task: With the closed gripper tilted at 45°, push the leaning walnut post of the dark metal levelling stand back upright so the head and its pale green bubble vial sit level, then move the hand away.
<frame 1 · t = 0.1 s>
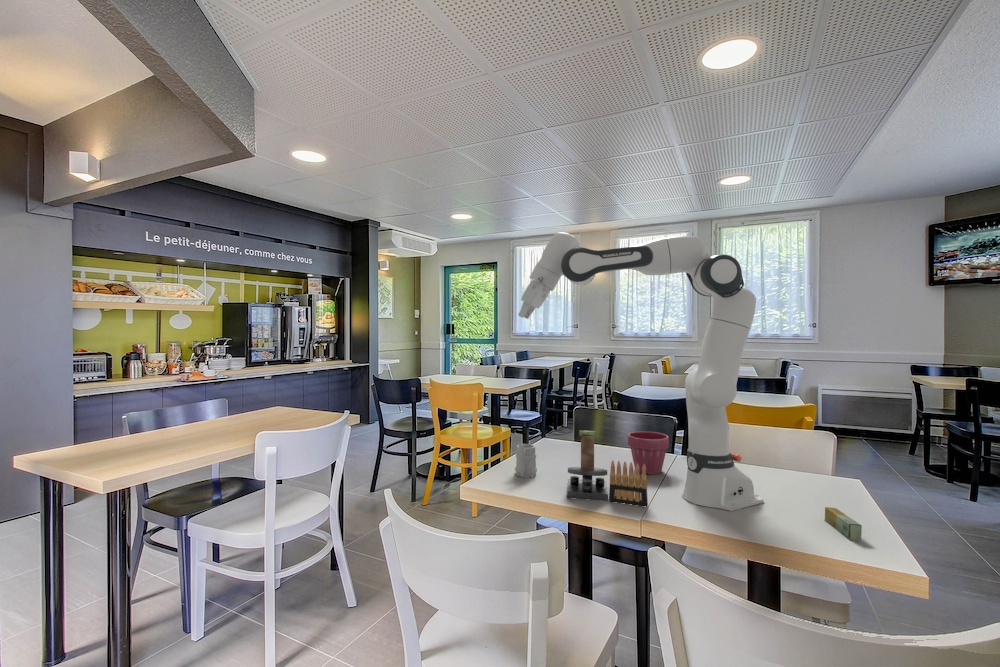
hand: (523, 317, 147), 54 cm above the table, tool tilted 30°, fingers open, 8 cm apart
medication box: (842, 531, 114), on the table
mug: (524, 476, 156), on the table
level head: (587, 451, 141), point 12 cm above the table, hinge at 10.0°
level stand: (587, 492, 140), on the table
plant pot: (647, 471, 164), on the table
ammunition clip: (628, 504, 131), on the table
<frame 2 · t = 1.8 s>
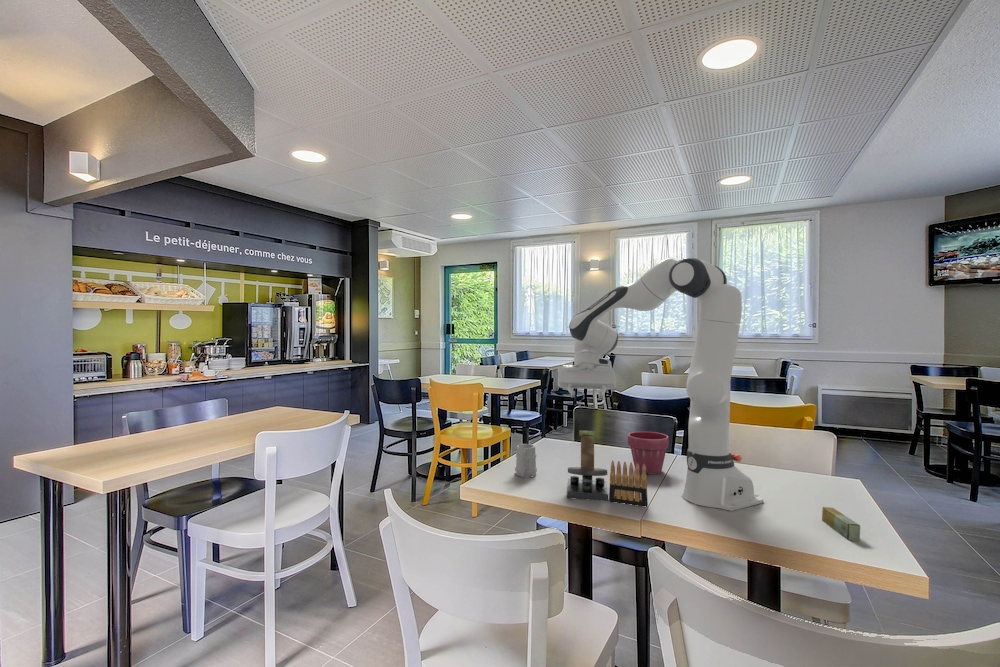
hand: (586, 396, 155), 27 cm above the table, tool tilted 45°, fingers open, 8 cm apart
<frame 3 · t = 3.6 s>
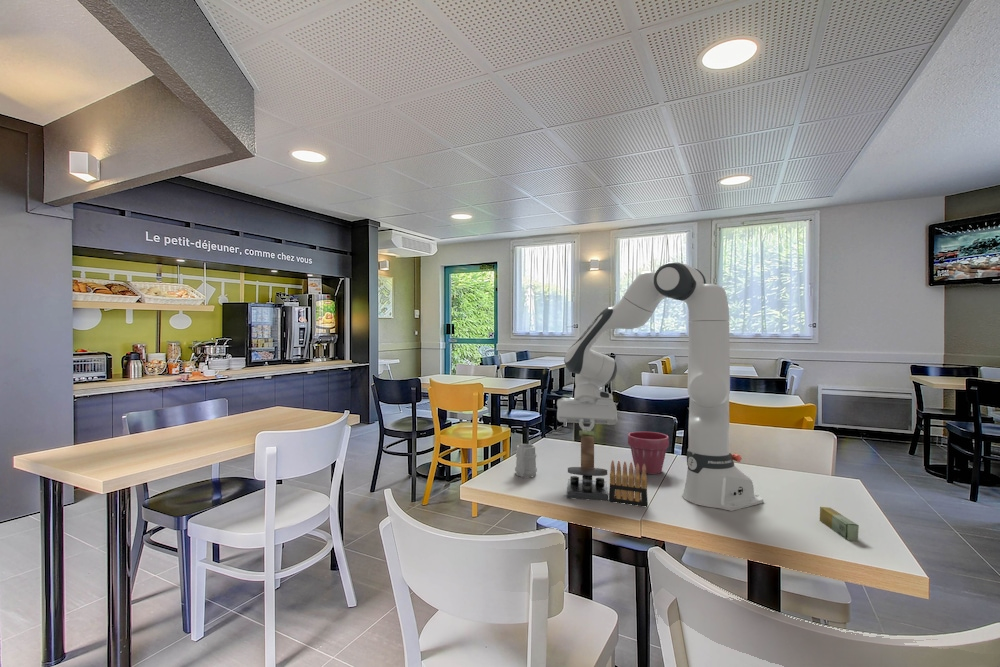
hand: (586, 432, 150), 16 cm above the table, tool tilted 45°, fingers closed
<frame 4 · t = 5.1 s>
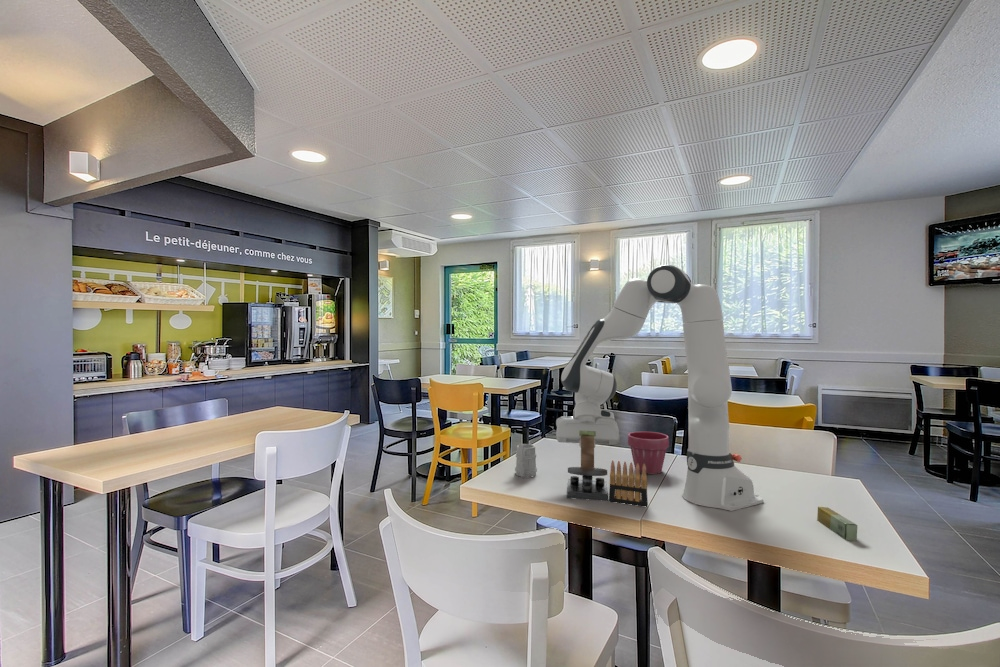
hand: (587, 454, 144), 11 cm above the table, tool tilted 45°, fingers closed, pressing on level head
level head: (587, 451, 141), point 12 cm above the table, hinge at 9.7°, touching gripper
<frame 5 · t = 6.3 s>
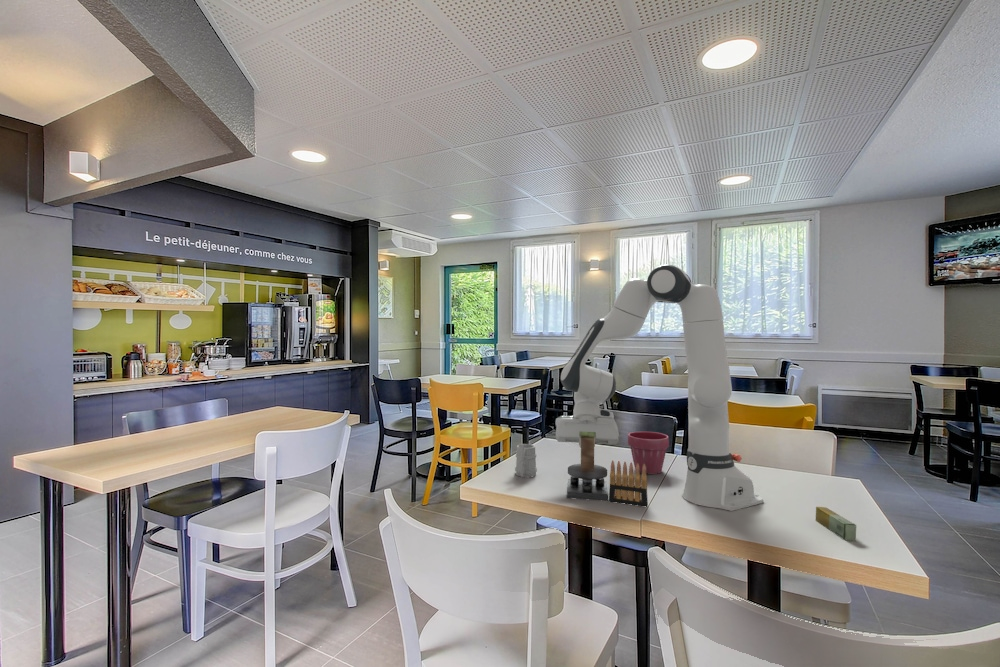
hand: (586, 453, 143), 11 cm above the table, tool tilted 45°, fingers closed
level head: (587, 452, 140), point 12 cm above the table, hinge at -0.5°
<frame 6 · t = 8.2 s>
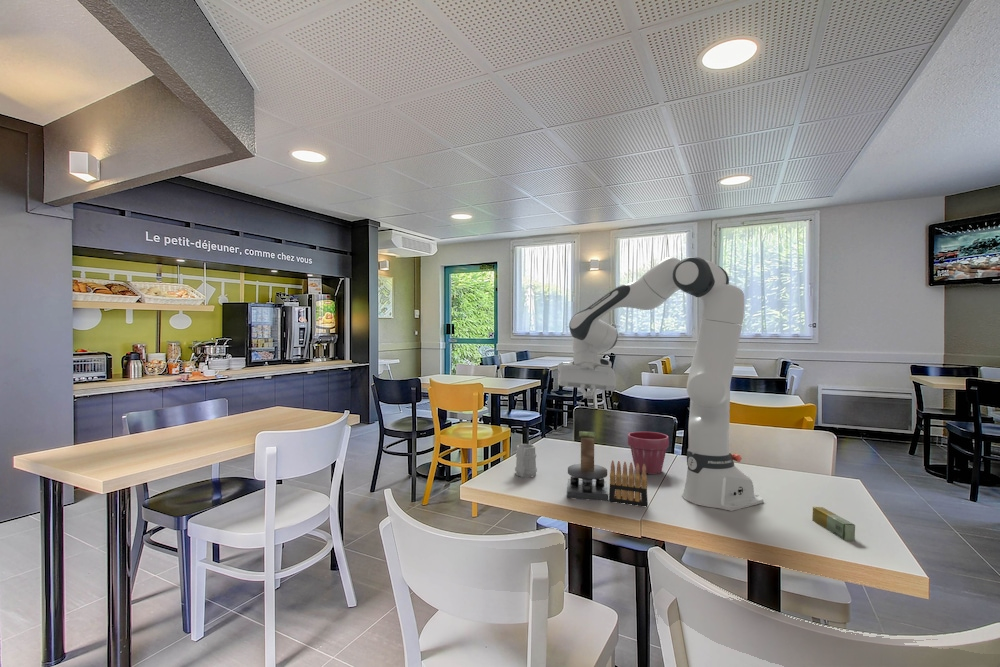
hand: (588, 397, 155), 27 cm above the table, tool tilted 40°, fingers closed
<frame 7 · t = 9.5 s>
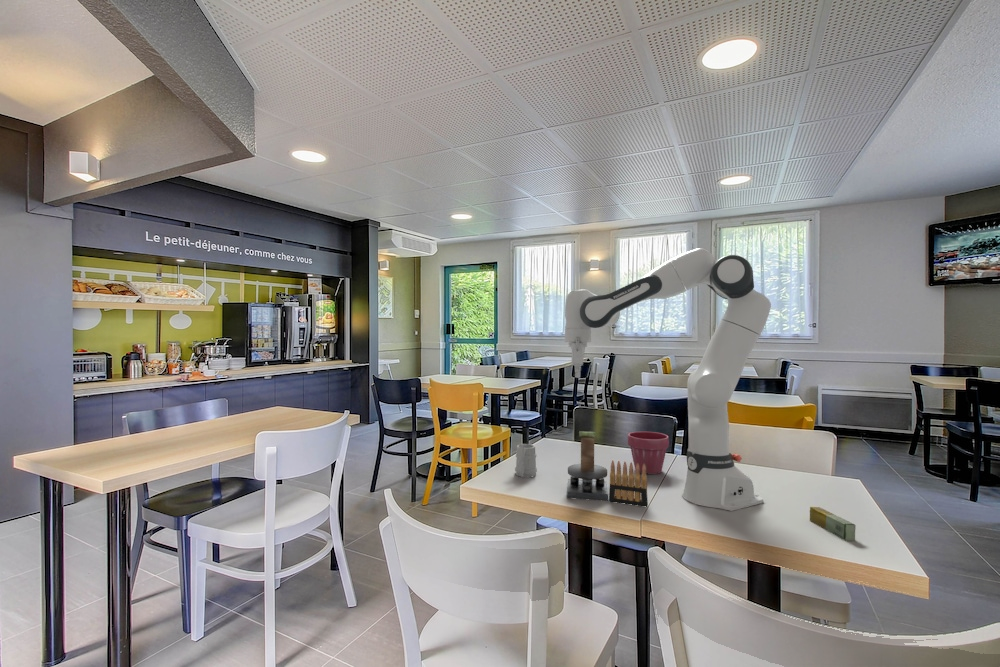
hand: (577, 377, 156), 34 cm above the table, tool pointing down, fingers closed
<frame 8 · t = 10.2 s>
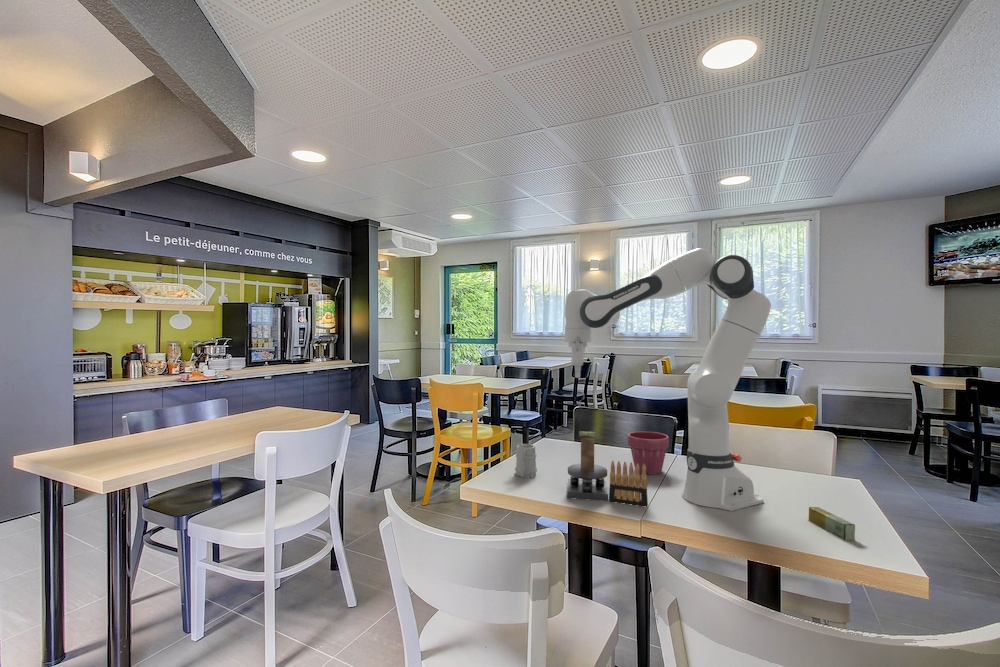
hand: (577, 377, 156), 34 cm above the table, tool pointing down, fingers closed
at the end: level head at +0° (first picture: +10°) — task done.
